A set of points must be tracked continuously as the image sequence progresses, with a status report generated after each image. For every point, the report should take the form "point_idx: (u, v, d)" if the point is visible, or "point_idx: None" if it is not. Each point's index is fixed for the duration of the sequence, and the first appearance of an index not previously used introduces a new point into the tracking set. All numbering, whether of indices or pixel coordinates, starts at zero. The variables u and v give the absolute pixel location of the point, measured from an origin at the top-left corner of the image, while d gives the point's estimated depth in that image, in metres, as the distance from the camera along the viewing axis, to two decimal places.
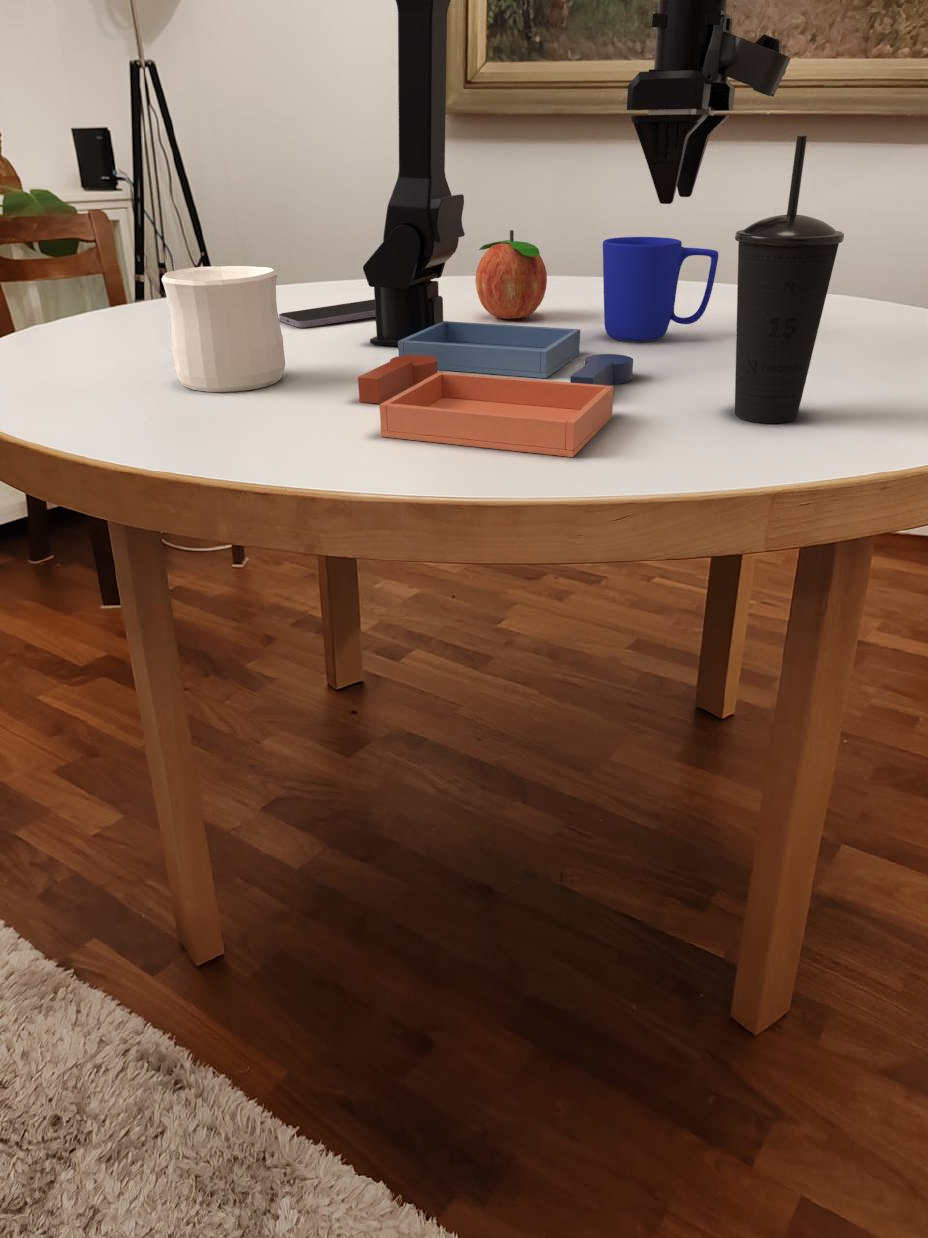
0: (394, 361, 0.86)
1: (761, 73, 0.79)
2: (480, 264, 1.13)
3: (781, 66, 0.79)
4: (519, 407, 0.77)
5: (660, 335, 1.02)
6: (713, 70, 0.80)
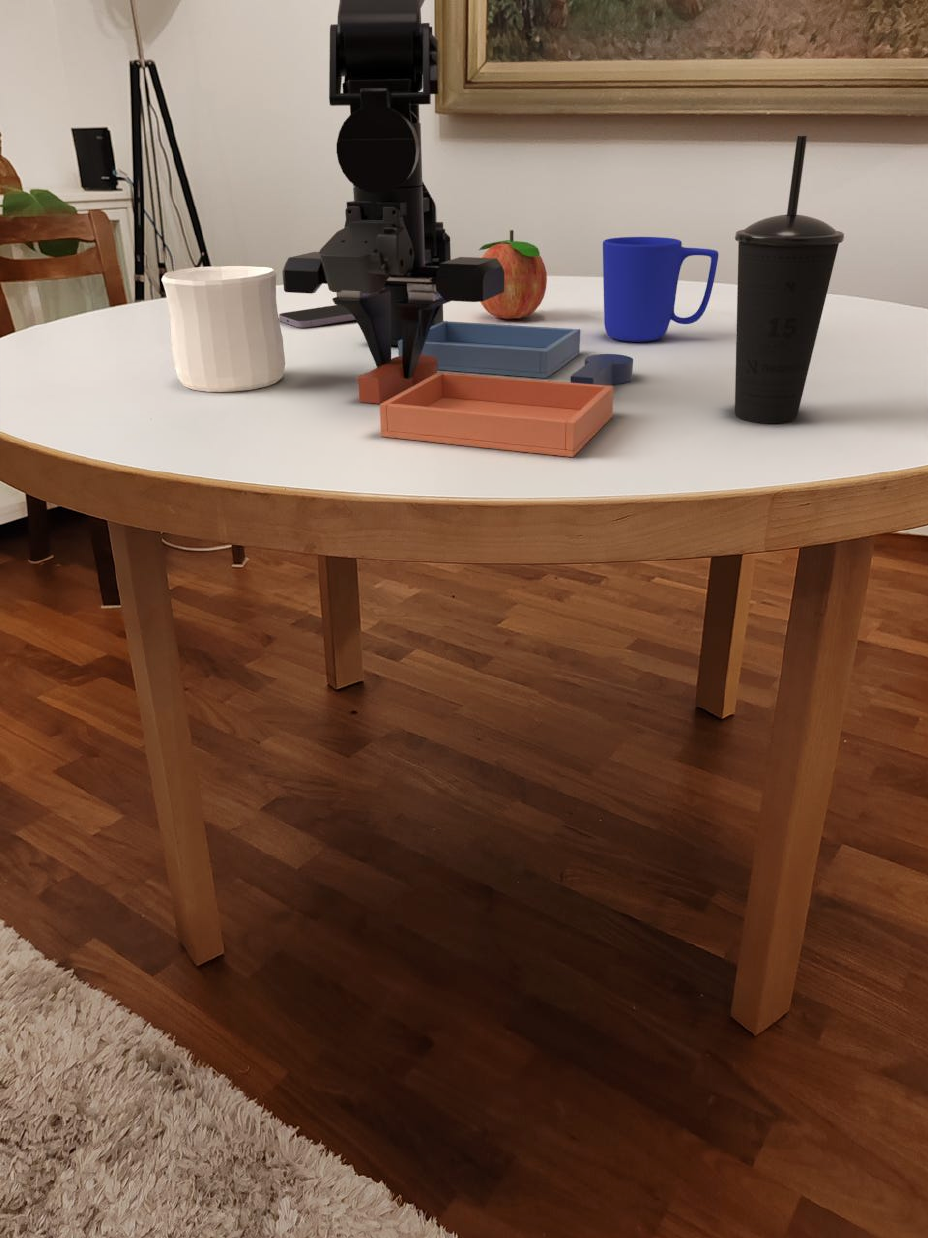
0: (394, 361, 0.86)
1: None
2: None
3: (324, 264, 0.74)
4: (519, 407, 0.77)
5: (660, 335, 1.02)
6: None
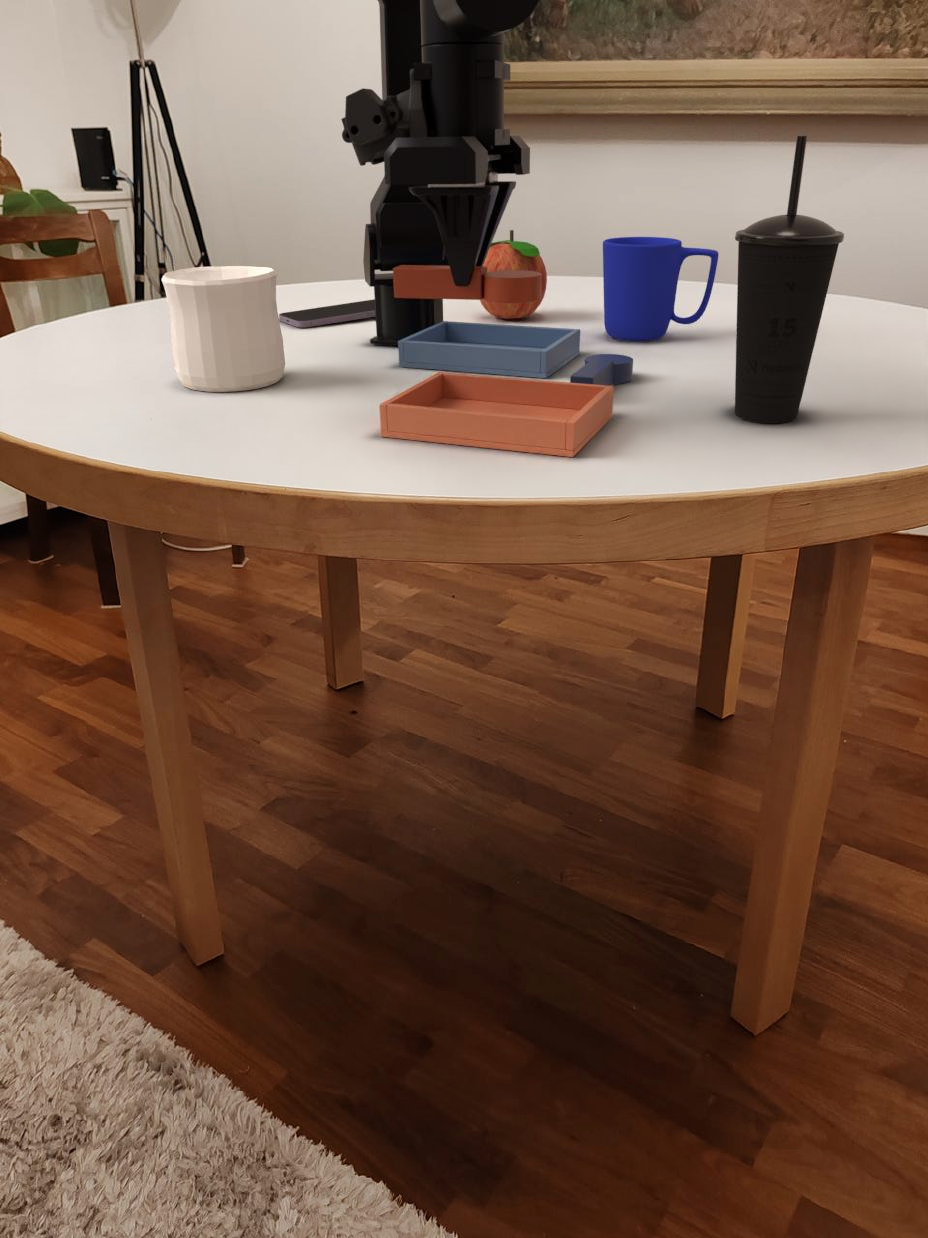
0: (477, 266, 0.72)
1: None
2: None
3: None
4: (519, 407, 0.77)
5: (660, 335, 1.02)
6: None
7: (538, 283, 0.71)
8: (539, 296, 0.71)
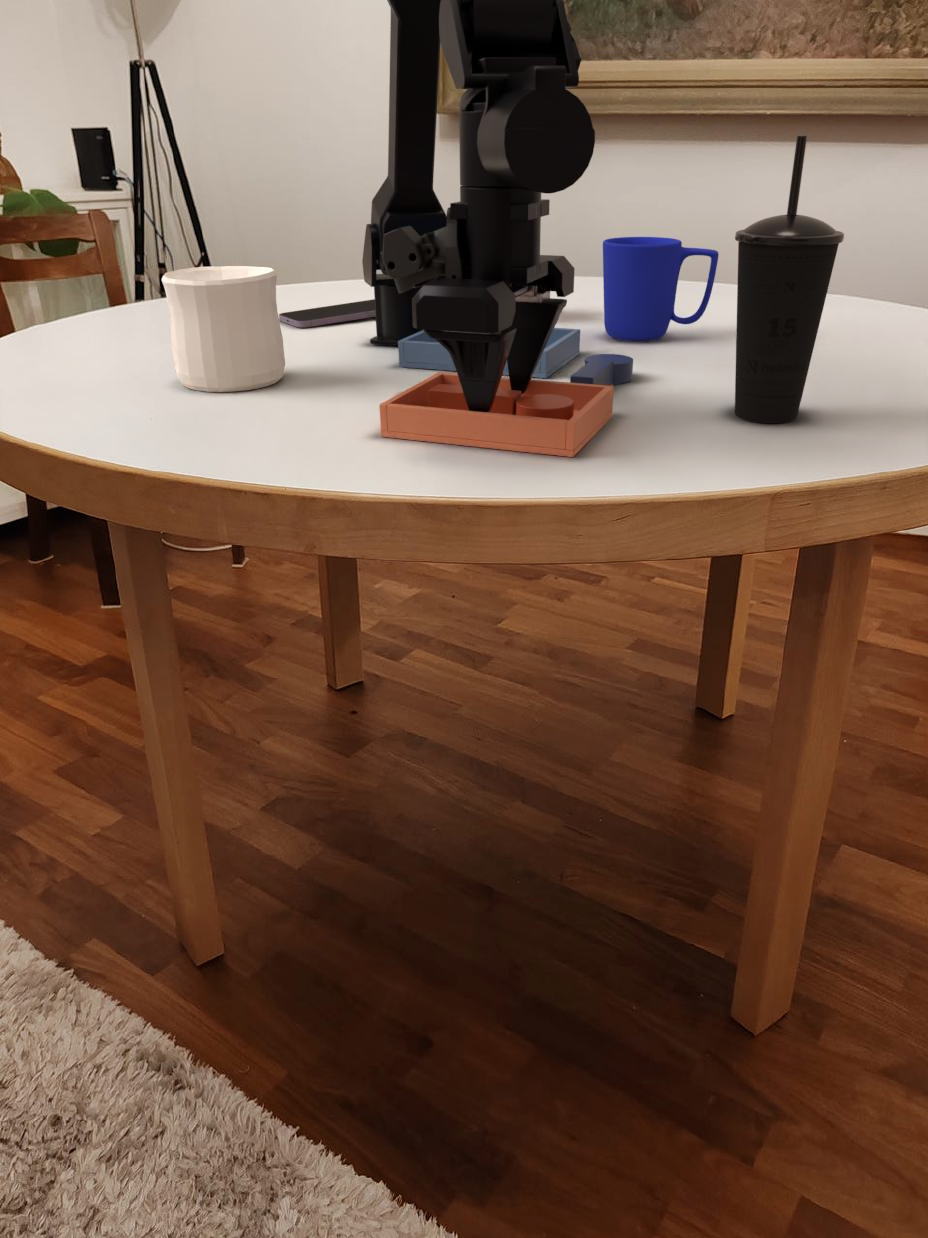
0: (511, 391, 0.73)
1: None
2: None
3: None
4: None
5: (660, 335, 1.02)
6: None
7: (568, 413, 0.71)
8: None
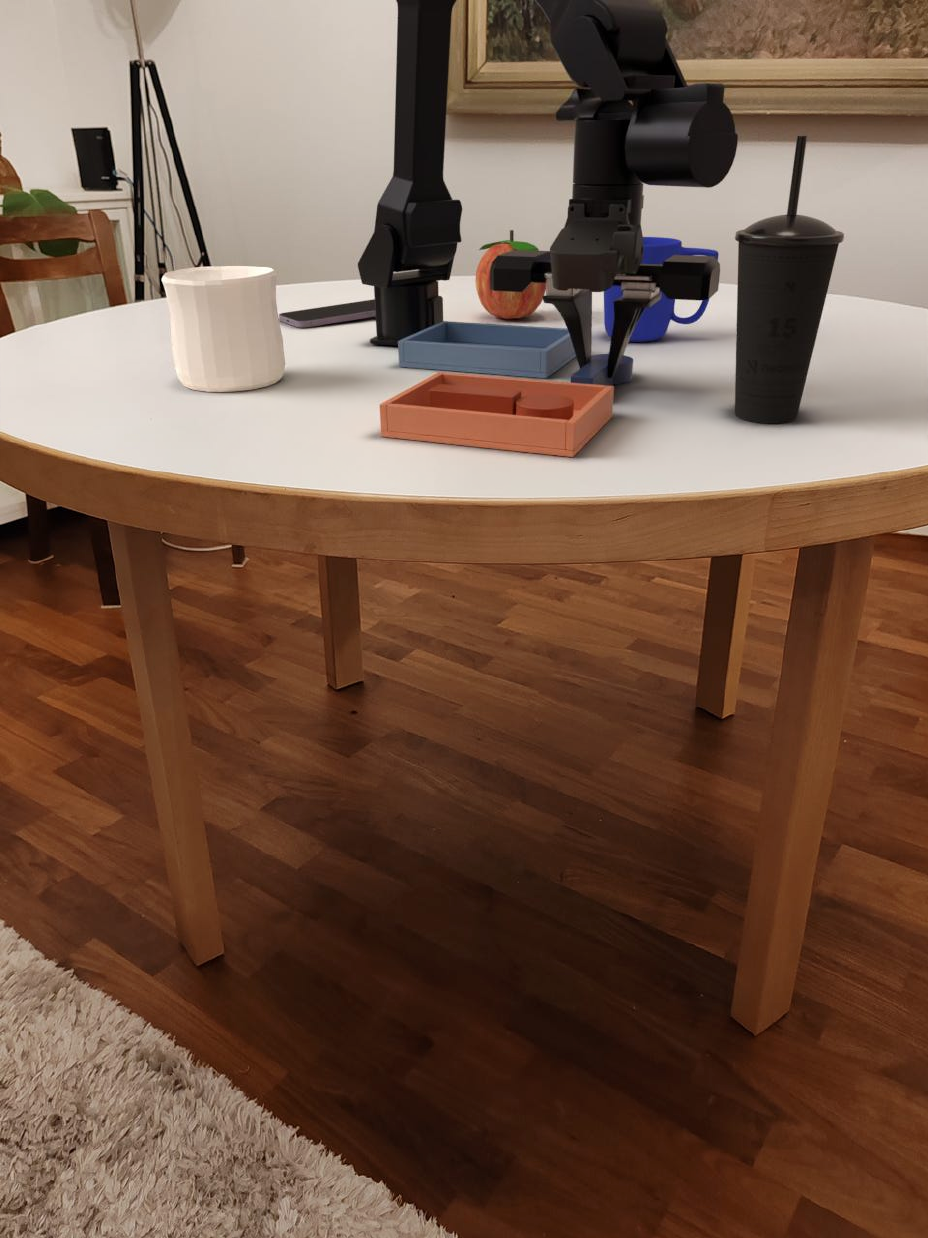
0: (511, 391, 0.73)
1: None
2: (480, 264, 1.13)
3: (555, 262, 0.74)
4: None
5: (660, 335, 1.02)
6: None
7: (568, 413, 0.71)
8: None
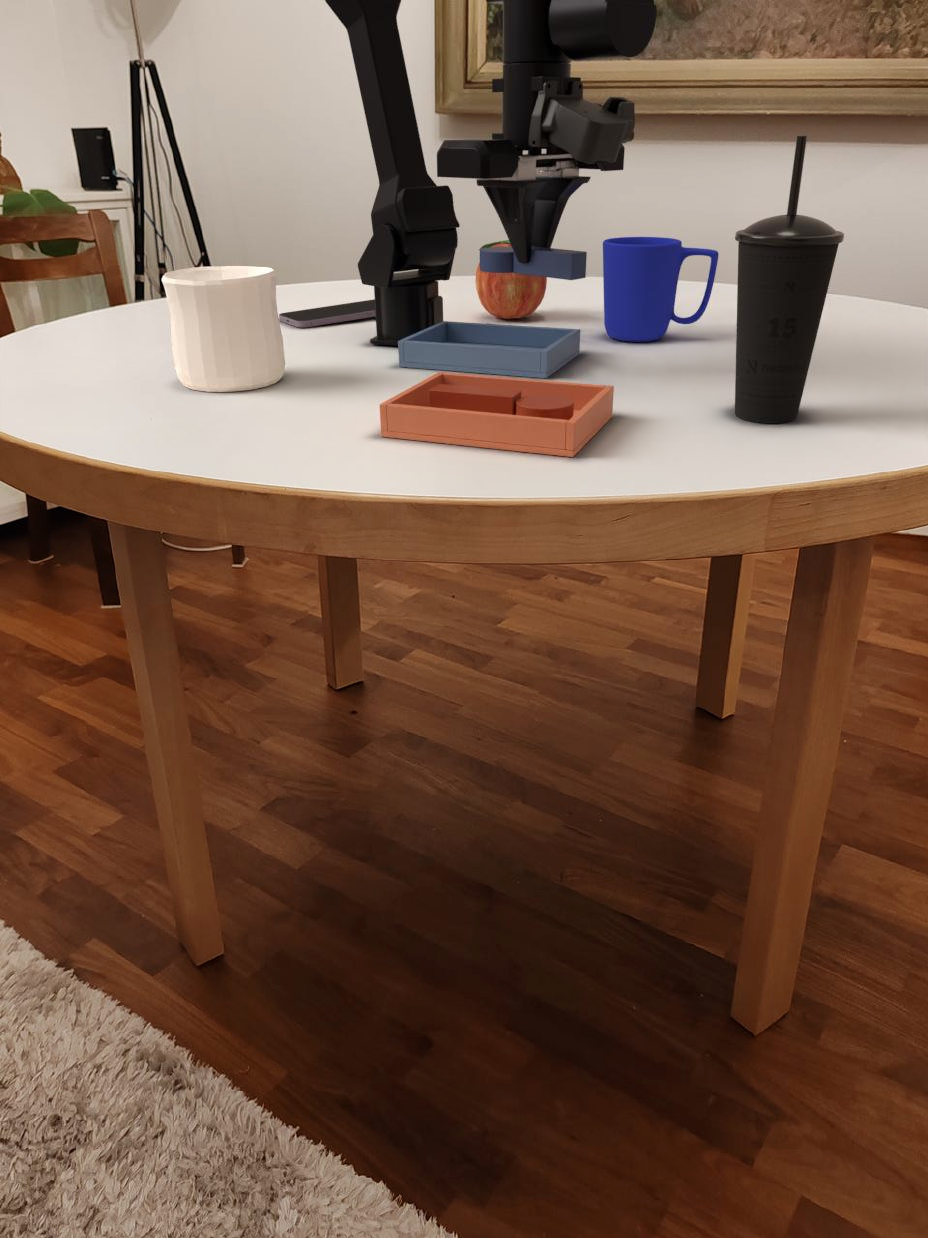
0: (511, 391, 0.73)
1: (577, 141, 0.76)
2: None
3: (596, 134, 0.76)
4: None
5: (660, 335, 1.02)
6: (536, 136, 0.78)
7: (568, 413, 0.71)
8: None
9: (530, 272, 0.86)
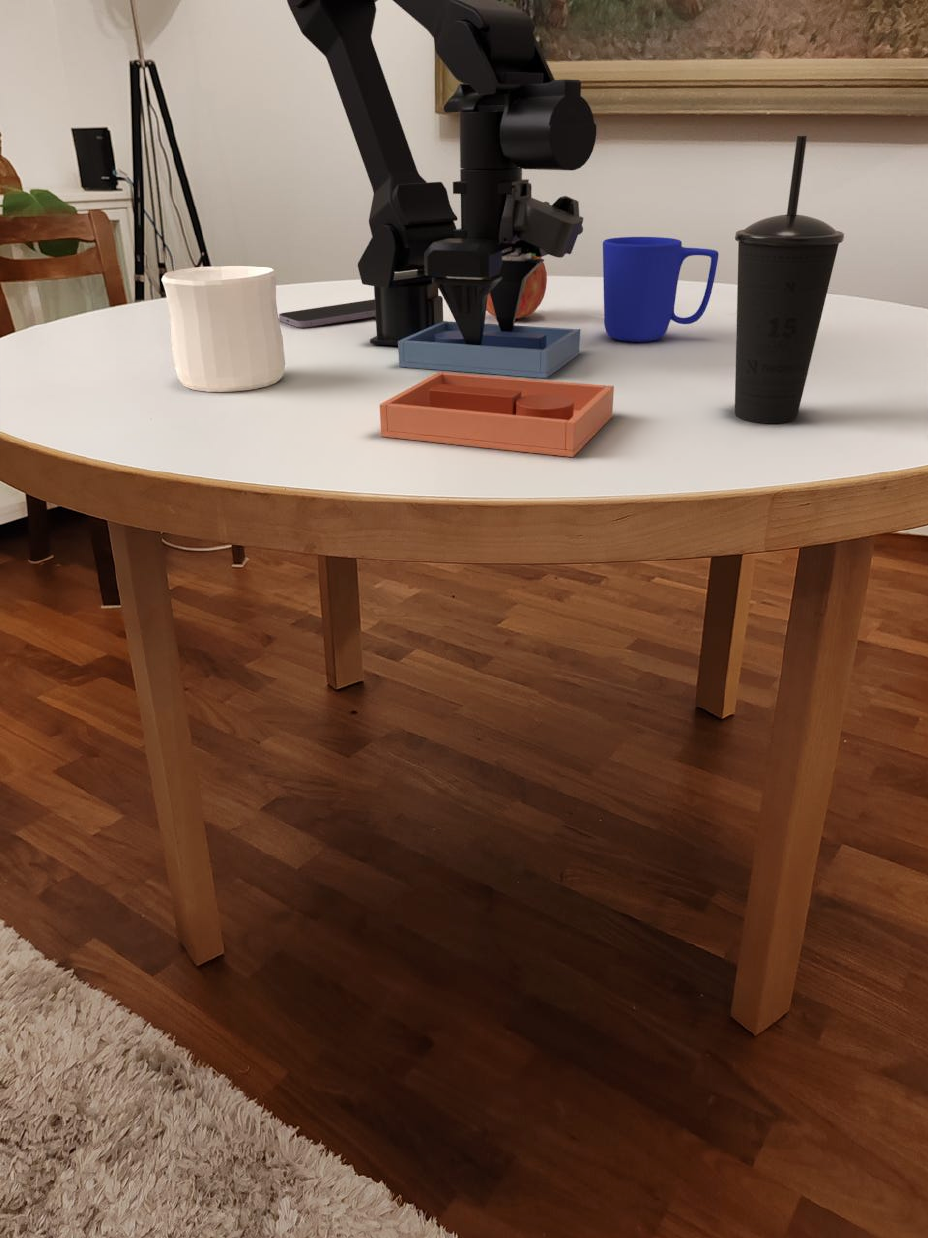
0: (511, 391, 0.73)
1: (551, 239, 0.86)
2: None
3: (568, 233, 0.86)
4: None
5: (660, 335, 1.02)
6: (508, 234, 0.87)
7: (568, 413, 0.71)
8: None
9: None
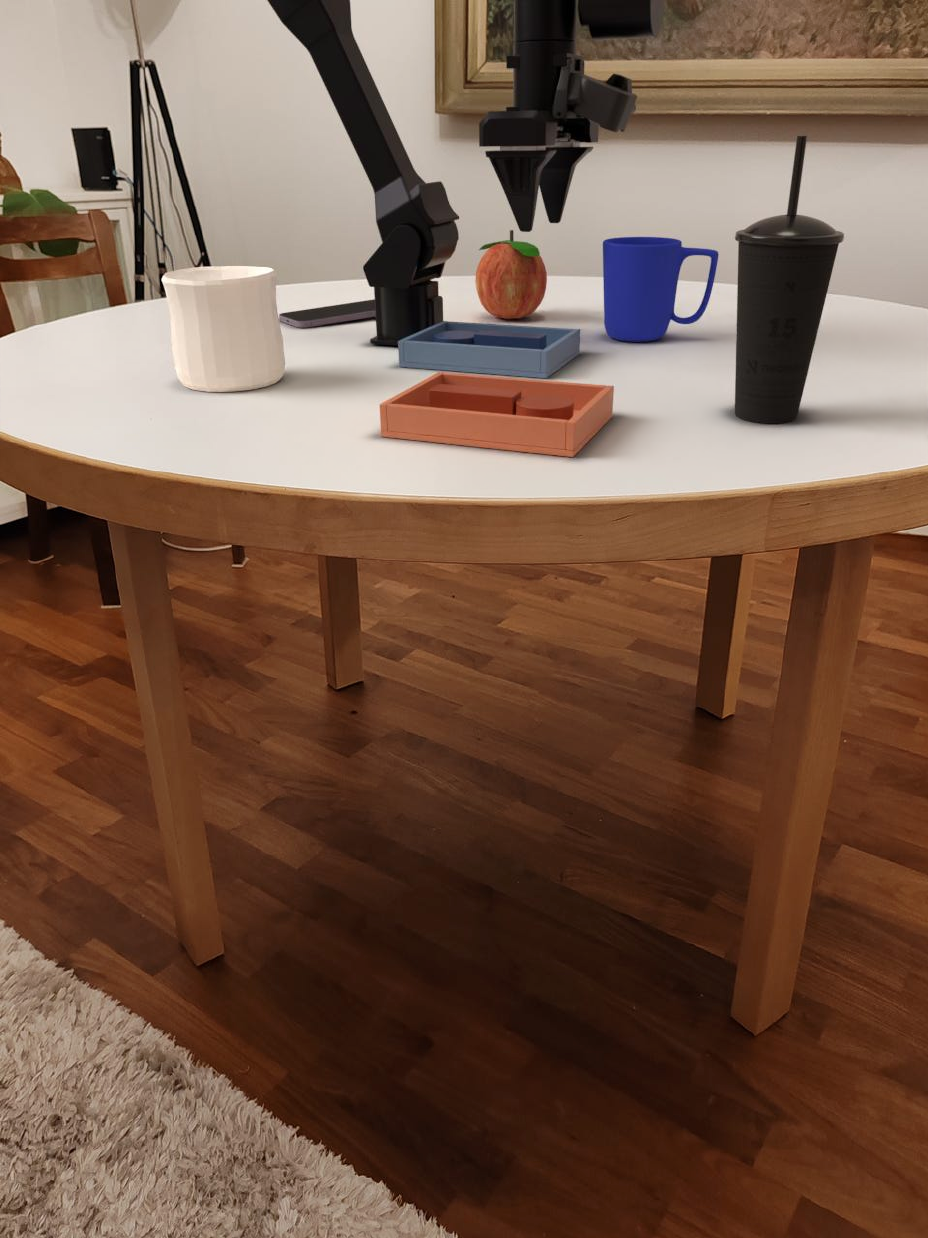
0: (511, 391, 0.73)
1: (606, 111, 0.85)
2: (480, 264, 1.13)
3: (624, 105, 0.85)
4: None
5: (660, 335, 1.02)
6: (562, 108, 0.86)
7: (568, 413, 0.71)
8: None
9: None
